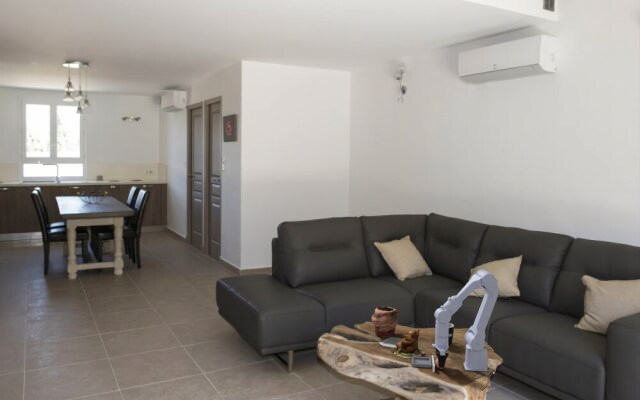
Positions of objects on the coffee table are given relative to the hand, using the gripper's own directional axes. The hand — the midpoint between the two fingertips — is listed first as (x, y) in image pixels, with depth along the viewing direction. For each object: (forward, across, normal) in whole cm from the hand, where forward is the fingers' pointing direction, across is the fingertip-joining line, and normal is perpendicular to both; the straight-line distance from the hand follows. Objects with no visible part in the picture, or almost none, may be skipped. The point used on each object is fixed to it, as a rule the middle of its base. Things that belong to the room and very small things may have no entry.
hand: (441, 365), depth 242 cm
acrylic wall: (+1, -1, -3) cm, 4 cm away
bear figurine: (+2, -16, -14) cm, 22 cm away
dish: (+1, -4, -8) cm, 9 cm away
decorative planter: (+2, -42, -26) cm, 49 cm away
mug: (+2, -32, +4) cm, 32 cm away
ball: (+1, 0, 0) cm, 1 cm away
